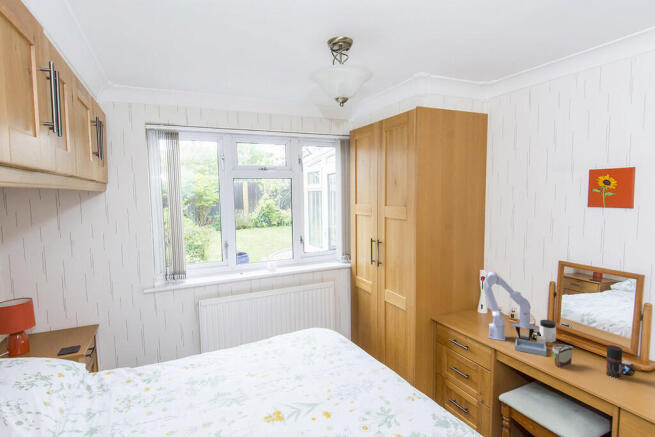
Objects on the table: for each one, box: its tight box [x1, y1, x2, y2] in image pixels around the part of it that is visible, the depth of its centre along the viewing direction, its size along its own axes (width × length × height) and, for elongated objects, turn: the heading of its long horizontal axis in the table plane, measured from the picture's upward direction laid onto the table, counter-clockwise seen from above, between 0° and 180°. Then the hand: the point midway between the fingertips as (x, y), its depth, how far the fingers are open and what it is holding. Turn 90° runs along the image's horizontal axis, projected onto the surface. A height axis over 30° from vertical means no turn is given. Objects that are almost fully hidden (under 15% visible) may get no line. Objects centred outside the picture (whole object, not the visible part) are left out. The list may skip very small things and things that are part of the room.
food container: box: [551, 343, 574, 369], centre depth 186 cm, size 12×6×10 cm, turn 111°
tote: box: [514, 338, 547, 357], centre depth 204 cm, size 16×11×3 cm
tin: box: [520, 332, 529, 341], centre depth 215 cm, size 5×5×4 cm
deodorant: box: [605, 344, 623, 379], centre depth 173 cm, size 6×6×15 cm
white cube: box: [536, 335, 546, 345], centre depth 210 cm, size 4×4×4 cm
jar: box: [538, 319, 557, 343], centre depth 216 cm, size 9×8×12 cm
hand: (524, 339), depth 215 cm, fingers closed on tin, 5 cm apart
